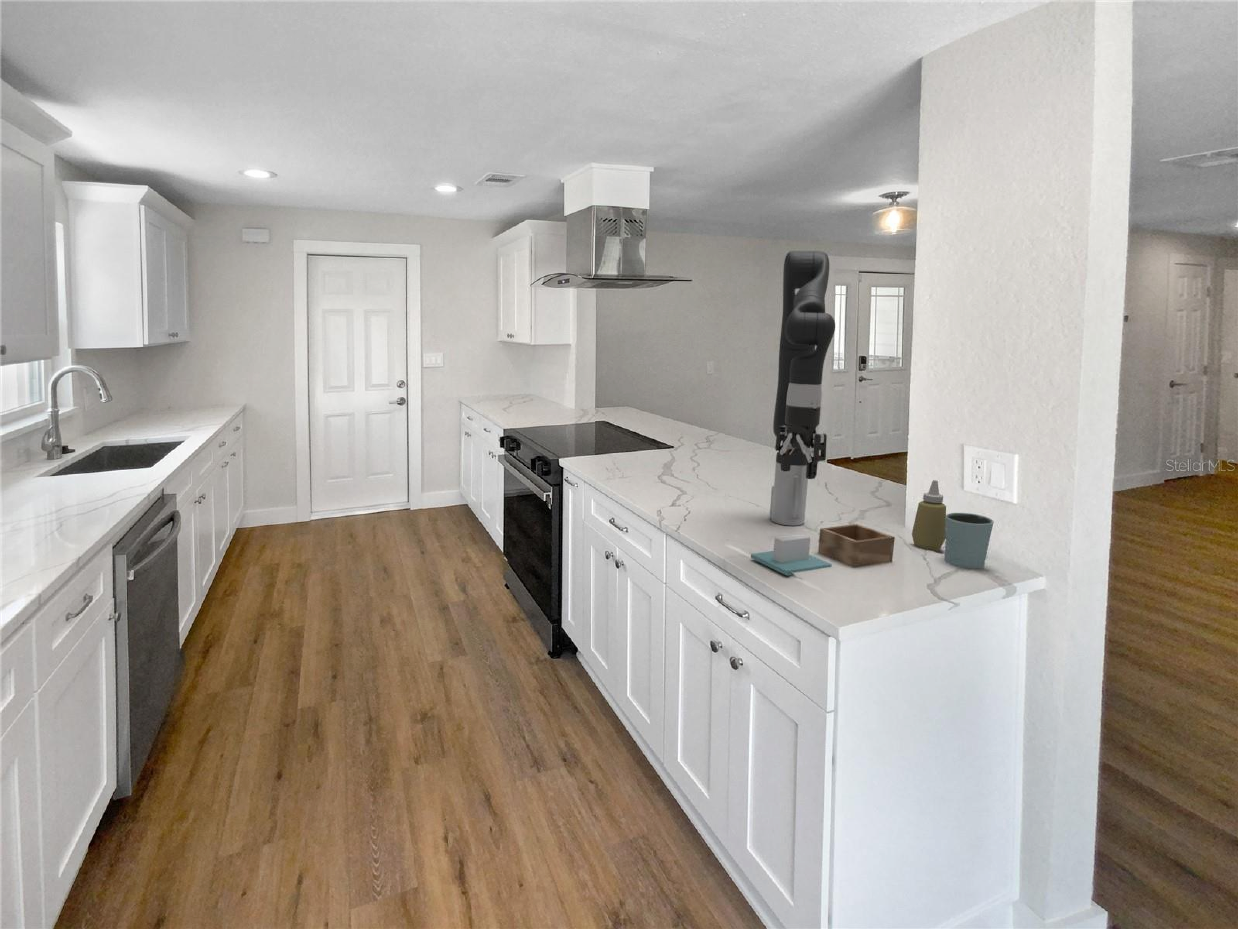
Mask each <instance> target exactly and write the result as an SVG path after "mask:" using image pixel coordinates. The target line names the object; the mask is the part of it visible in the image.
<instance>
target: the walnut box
mask: <svg viewBox="0 0 1238 929" xmlns="http://www.w3.org/2000/svg"><path fill="white" fill-rule="evenodd" d="M818 539H819V540H818V549H817V552H818V554H820V555H823V556H824V557H827V558H830V559H833V560H834V561H835V560H836V561H837V562H838V563H843V564H844V565H847V566H849V567H851V568H854V569H855V568H862V567H868V566H869V567H870V566H873V565H879V564H885V563H892V562H893V558H894V547H895V540H896V537H895V536H893V535H890V534H887V533H884V532H882V531H879V530H876V529H873V528H871V527H870V528H869V527H867V526H865V525H862V524H858V523H853V524H847V525H846V524H844V525H838V526H830V527H824V528H820V529H819V538H818Z"/></svg>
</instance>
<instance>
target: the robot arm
mask: <svg viewBox="0 0 1238 929" xmlns="http://www.w3.org/2000/svg"><path fill="white" fill-rule="evenodd" d="M829 258H830V257H829V255H828V254H827V253H826V252H825V251H819V250H814V251H813V250H797V251H796V250H791V251H788V252H787V254H786V255H785V258H784V262H783V270H782V271H783V272H782V274H783V275H782V276H783V279H782V281H783V282H782V286H783V287H782V317H781V318H782V320H781V329H780V338H779V351H778V353H779V354H778V375H777V378H778V379H777V390H776V398H775V405H774V412H773V413H774V415H773V425H772V427H773V434H774V435H775V437H776V440H775V446H774V449H775V451H776V456H775V468H774V480H773V481H774V482H773V485H772V487H771V493H770V494H771V495H770V507H769V519H771V521H772V522H773V523H775V524H778V525H782V526H802V525H804V524H805V521H806V520H805V518H806V509H807V507H806V506H807V496H808V483H809V480H815V479H816V477H817V474H818V473H817V472H818V471H817V470H818V464H819V462H823V461H824V462H825V461H826V458H827V457H826V456H827V441H828V440H827V438H828V437H827V433H817V430H816V429H817V427H819V425H820V422H821V420H820V419H821V409H822V398H823V391H822V386H823V385H822V382H823V374H824V373H823V372H824V365H825V360H826V356H827V353H828V350H829V346H831V342H832V340H833V337H834V334H835V332H836V331H835V330H836V321H835V319H834V317H833V315H831V314H829V313H827V312H826V300H825V299H826V294H827V289H828V283H829V275H830V259H829ZM796 289H797V290H798V291H797V292H796ZM781 444H782V445H781Z"/></svg>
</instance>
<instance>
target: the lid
mask: <svg viewBox="0 0 1238 929" xmlns="http://www.w3.org/2000/svg"><path fill="white" fill-rule="evenodd" d="M773 541H774V542H773V550H771V551H763V552H756V553H751V554H750V559H752V560H754V561H756V562H759V563H761V564H762V565H765V566H767V567H769V568H770V569H773V570H775V571H776V572H779V573H780V574H783V575H785V576H790V575H791V576H792V575H793V576H794V573H800V572H805V571H806V572H807V571H812V570H819V569H826V568H831V567H832V563H830V562H828V561H825V560H823V559H820V558H818V557H815V556H813V555H811V554H810V545H811V537H810V536H807V535H805V534H802V533H801V534H793V535H792V534H791V535H784V536H777V537H776V536H775V537H774V540H773Z"/></svg>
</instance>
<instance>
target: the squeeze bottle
mask: <svg viewBox="0 0 1238 929" xmlns="http://www.w3.org/2000/svg"><path fill="white" fill-rule="evenodd" d="M939 490H940V489H939V482H938V480H936V479H935V480H934V479H933V480H932V481H931V484H930V487H929V490H928V492H924V493H923V497H922V501H920V502H918V503H917V504H918V505H917V508H916V513H915V517H914V521H913V522H914V523H913V527H912V532H911V536H912V540H913V545H914V546H915V547H916V548H917V547H918V548H921V549H924V550H928V551H932V552H934V553H937V552H940V551H941V548H942V547H943V545H944V542H945V541H946V539H945V537H946V536H945V533H946V515H947V506H946V505H945V504H944V503H943V502H944V495H943V494H940V491H939Z"/></svg>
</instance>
